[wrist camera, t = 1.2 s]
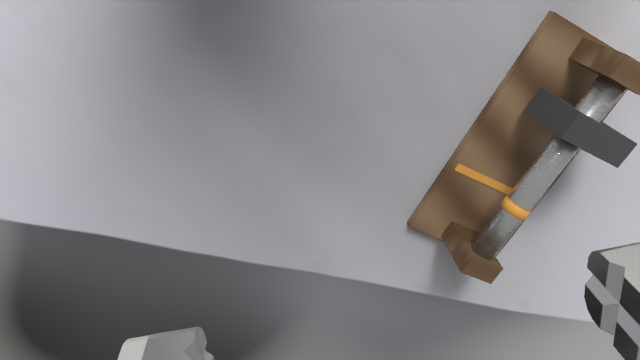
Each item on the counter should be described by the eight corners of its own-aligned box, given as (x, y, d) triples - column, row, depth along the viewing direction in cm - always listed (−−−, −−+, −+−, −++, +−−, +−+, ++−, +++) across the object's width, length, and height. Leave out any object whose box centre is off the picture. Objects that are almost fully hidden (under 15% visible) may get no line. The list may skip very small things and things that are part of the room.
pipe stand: (549, 10, 44) (596, 27, 38) (637, 64, 48) (694, 88, 41) (407, 222, 53) (426, 263, 47) (489, 255, 57) (517, 298, 50)
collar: (541, 87, 45) (579, 112, 40) (593, 116, 47) (637, 144, 41) (524, 110, 46) (560, 138, 40) (576, 137, 48) (617, 167, 42)
